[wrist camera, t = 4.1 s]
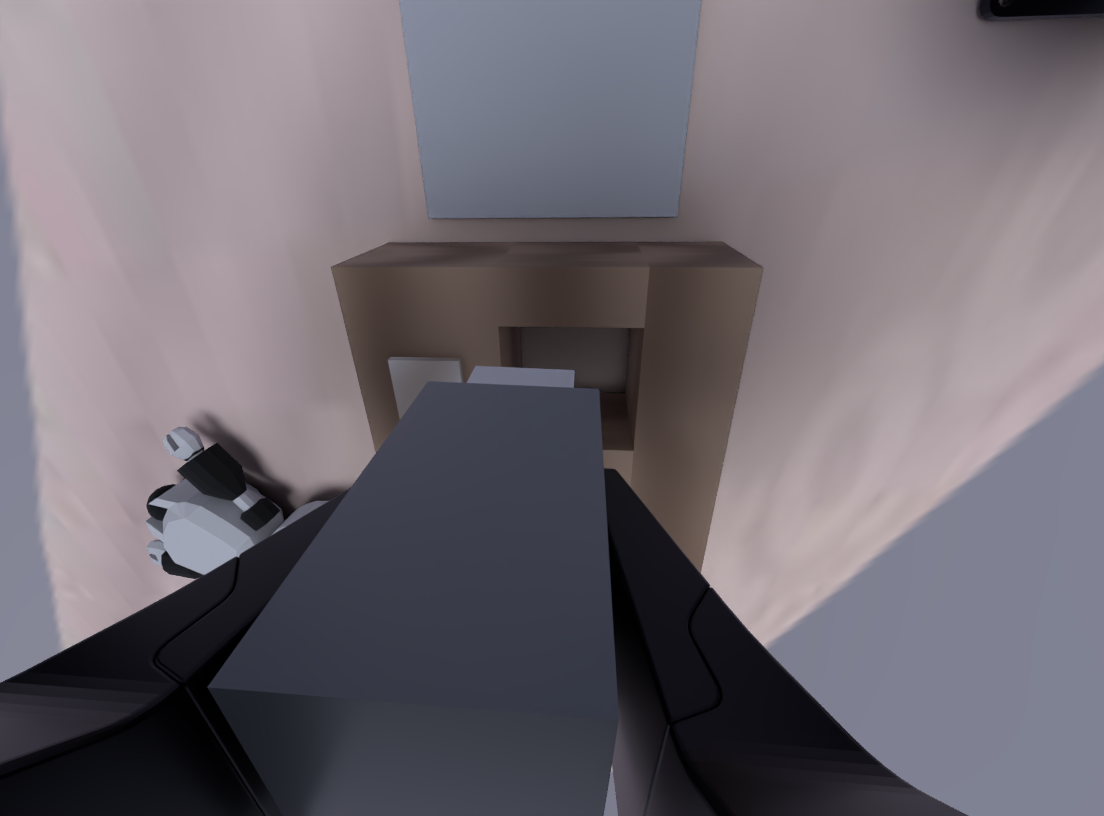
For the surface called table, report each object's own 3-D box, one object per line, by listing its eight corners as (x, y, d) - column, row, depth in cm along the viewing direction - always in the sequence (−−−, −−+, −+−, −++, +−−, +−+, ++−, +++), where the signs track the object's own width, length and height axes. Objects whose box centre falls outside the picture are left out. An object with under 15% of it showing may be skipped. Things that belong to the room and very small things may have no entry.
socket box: (722, 241, 18) (766, 269, 14) (672, 558, 27) (689, 640, 23) (389, 242, 19) (326, 268, 15) (443, 547, 28) (414, 623, 24)
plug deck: (715, -153, 13) (718, -161, 13) (675, 215, 18) (677, 216, 18) (385, -132, 14) (380, -138, 14) (431, 217, 19) (428, 218, 19)
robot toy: (182, 527, 31) (382, 626, 32) (115, 580, 27) (348, 690, 28) (211, 389, 25) (450, 518, 27) (133, 429, 21) (420, 578, 23)
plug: (596, 351, 11) (618, 720, 4) (588, 469, 12) (592, 882, 5) (453, 345, 11) (207, 687, 4) (464, 462, 12) (306, 855, 5)
